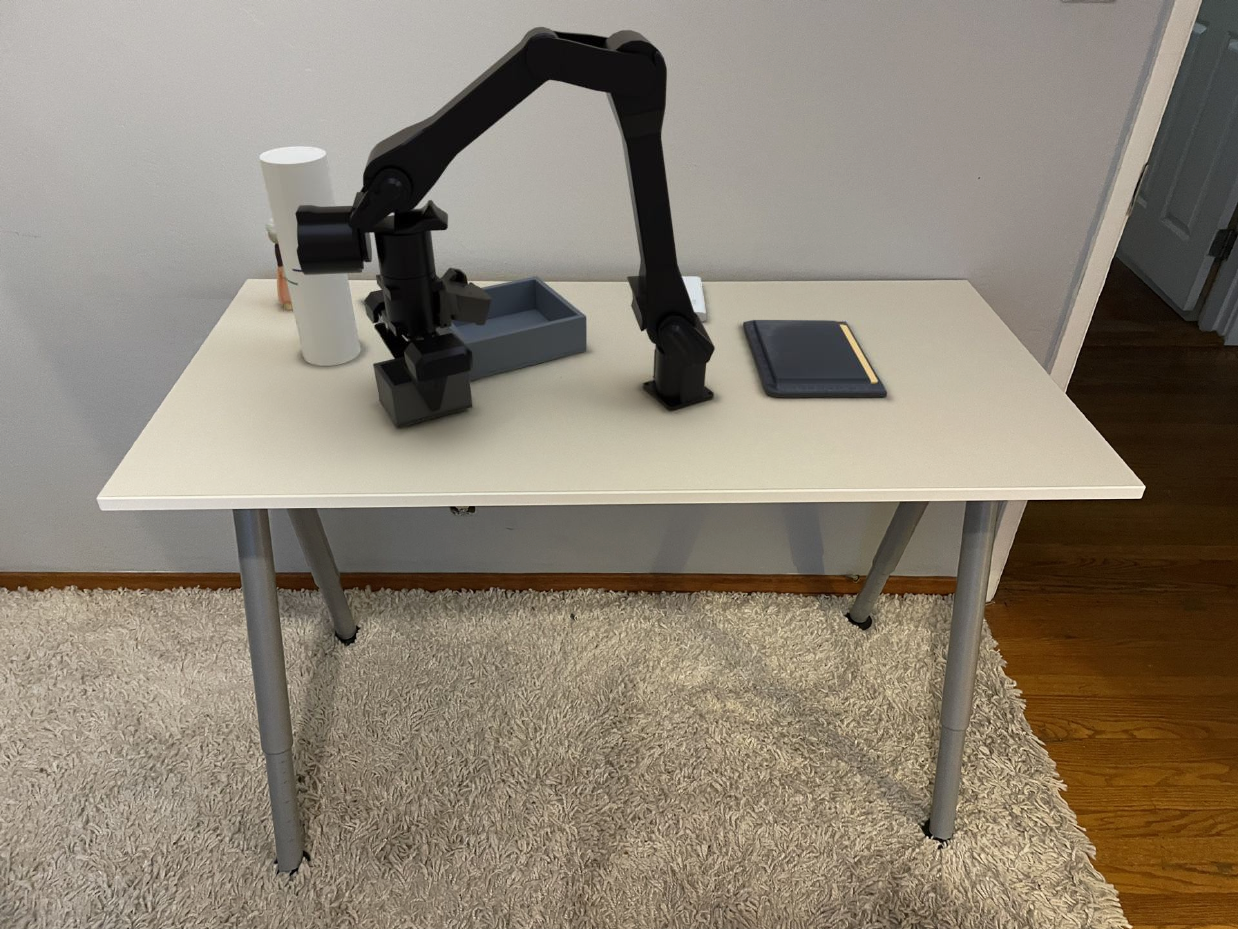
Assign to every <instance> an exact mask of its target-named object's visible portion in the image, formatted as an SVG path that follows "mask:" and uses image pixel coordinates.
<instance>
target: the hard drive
mask: <svg viewBox="0 0 1238 929" xmlns="http://www.w3.org/2000/svg"><path fill="white" fill-rule="evenodd" d="M682 278H683V281H684V284H685V286H686V289H687V292H688V294H689V297H690V300H691V303H692V306H693V310H694V312H695V313H696V314H697V315H698V316H699V318H700V320H701V322H702V323H703V322H705V321H706V319H707V311H706V310H707V309H706V304H705V298H704V290H703V283H702V278H701V277H700V276H694V275H693V276H692V275H691V276H688V275H684V276H683V275H682Z"/></svg>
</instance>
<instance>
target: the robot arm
mask: <svg viewBox="0 0 1238 929" xmlns="http://www.w3.org/2000/svg"><path fill="white" fill-rule="evenodd" d="M548 81H553V82H554V81H555V82H561V83H565V84H567V85H572V86H577V87H579V88H583V89H587V90H591V91H596V92H601V93H605V96H606V99H607V101H608V104H609V106H610V109H611V112H612V114H613V118H614V120H615V122H616V123H615V124H616V125H617V128H618V130H619V133H620V134H619V135H620V136H621V143H622V151H623V155H624V164H625V169H626V176H627V181H628V187H629V188H628V189H629V194H630V201H631V207H632V214H633V220H634V227H635V232H636V239H637V245H638V251H639V252H638V253H639V259H640V261H639V262H640V265H639V270H638V275H630V276H627V277H626V279H627V281H628V284H629V287H630V290H631V293H632V294H631V295H632V300H631V304H630V307H631V309H632V312H633V314H634V317H635V320H636V322H637V326H638V327H639V330H640V332H644V331H645V332H646V334H647V338H648V340H649V341H650V342H651V343H652V345H653V344H654V345H655V348H654V354H653V372H652V373H653V374H652V375H653V376H652V377H653V379H652V380H648V381H645V382H643V383H642V388H643V389H644V390H645V391H646V392H648V393H649V394H650V395H651V396H652V397H654V399H656V400H657V401H658V402H660V404H661V405H663V406H664V407H665V408H666V409H668V410H670V411H673V410H674V411H675V410H677V409H680V408H681V409H682V408H684V407H687V406H690V405H694V404H697V403H700V402H701V403H702V402H704V401H708V400H710V399H713V398H714V396H715V393H714V392H713V391H712V390H711V389H710V388H709V387H707V386H706V385H705V384H706V383H705V382H706V373H707V364H709V362H710V361H711V358H712V356H713V354H714V352H715V350H716V346H715V345H714V343H713V341H712V339H711V338H710V335H709V333H708V331H707V329H706V328H705V326H704V324H703V321H702V322H701V320H700V318H699V316H698V315H697V314H696V313H695V312H694V310H693V306H692V303H691V300H690V297H689V294H688V292H687V289H686V286H685V284H684V281H683V278H682V276H683V275H682V273H681V270H680V268H679V265H678V258H677V257H678V256H677V248H676V240H675V234H674V226H673V219H672V210H671V209H672V208H671V204H670V203H671V202H670V194H669V186H668V180H667V171H666V164H665V156H664V149H663V141H662V131H663V124H664V120H665V119H664V118H665V114H666V107H667V84H668V83H667V82H668V68H667V64H666V61H665V58H664V56H663V53H662V52H661V51H660V50H659V48H657V47H656V46H655V45H654V44H653V43H652V42H650V40H649V39H648V38H647V37H645V36H644V35H643V34H641V33H640V32H638V31H635V30H632V29H623V30H619V31H617V32H613V33H612V34H611V35H610V36H603V35H599V34H598V35H597V34H591V33H582V32H571V31H560V30H553V29H551V28H549V27H545V26H537V27H533V28H531V29H530V30H528V31H527V32H526V33H525V34H524V35H523V37H522V39H521V40H520V41H519V42H518V43H517V44H515V46H514V47H512V48H511V49H510V50H509V51H508V52H506V53H505V54H504V55H503V56H501V57H500V59H498V60H497V61H496V62H494V63H493V64H492V65H491V66H489V67H488V68H487V69H486V70H485V71H484V72H482V73H481V74H480V75H479V76H478V77H476V79H474V80H472V82H470V83H469V84H468V85H467V86H466V87H465V88H463V89H462V90H461V91H460V92H459V93H457V94H456V95H455V96H454V97H453V98H451V99H450V100H449V101H448V102H447V103H446V104H444V105H443V106H442V107H441V108H440V109H439V110H437V111H436V112H435V113H434V114H432V115H431V116H429V117H427V118H425V119H423V120H421V121H419V122H417V123H414V124H411V125H409V126H407V127H404V128H403V129H400V130H399V131H397V132H395V133H393V134H391V135H390V136H389V137H386V138H384V139H383V140H381V141H380V142H378V143H376V144H375V146H373V148H372V149H371V150H370V153H369V155H368V158H367V161H366V163H365V167H364V170H363V174H362V187H361V188H360V190H359V191H357V192H356V193H355V196H354V200H353V202H352V205H335V206H328V207H318V206H313V205H300V206H299V207H298V209H297V211H296V213H295V215H296V219H297V241H298V247H297V256H298V260H299V264H300V267H301V270H302V272H303V273H304V275H320V274H344V273H347V274H361V273H362V272H363V270H364V269H365V263H372V261H373V248H372V238H371V234H372V233H373V235H374V242H375V249H376V256H377V260H378V268H379V274H376V275H375V280H376V284H377V286H378V287H379V288H380V289H378V290H377V289H376V290H373V291H370V292H369V293H368V294H367V296H366V297H365V299H363V301H364V303H365V304H364V303H363V304H364V308H365V315H366V317H368V319H369V320H370V322H371V323H372V324H374V325H373V327H374V330H375V331H376V332H377V334H378V336H379V338H380V339H381V340H382V342H383V343H384V345H385V346H386V348H387V350H388V351H389V353H390V354H391V356H392V358H393V359H395V358H400V357H404V356H405V361H406V364H403V366H404V368H405V369H406V371H407V373H408V374H409V376H410V378H411V379H412V381H413V383H414V384H415V386H416V388H417V389H418V391H419V393H420V394H421V396H422V398H423V399H424V401H425V403H426V404H427V406H428V408H429V409H430V411H431V412H434V411H438V410H440V408H441V404H442V400H443V395H444V391H445V387H446V383H447V379H448V376H451V375H455V374H459V373H463V372H467V371H471V369H472V368H473V356H472V351H471V350H470V349H469V348H468V347H467V346H466V345H465V343H464V342H463V341H462V340H461V339H460V338H458V337H457V336H455V335H454V334H452V333H449V334H444V335H440V334H439V333H438V332H437V331H436V328H437V327H440V328H446V327H451V326H452V324H451V319H452V320H455V321H463V322H471V323H475V324H476V325H485V323H486V319H487V315H488V311H489V308H490V304H491V300H492V298H491V297H490V296H489V295H488V294H487V293H486V292H485V291H484V290H483V289H482V287H481V286H478V285H476V284H475V283H474V282H472V281H469V280H468V276H467V274H466V273H465V272H464V271H463V270H462V269H460V268H455V267H449V268H448V269H447V270H446V271H445V272H444V274H443V275H442V276H441V277H439V276H438V275H437V270H436V262H435V254H434V243H433V236H432V232H437V231H447V230H448V228H449V214H448V213H447V212H446V211H444V210H443V209H441V208H440V207H438V206H437V205H436V204H435V203H434V201H433V199H429V200H427V202H426V204H424V205H423V206H422V207H420V208H416V207H417V206H418V205H419V204H420V203H421V202H422V200H423V199H424V198H425V197H426V196H427V194H428V193H429V192H430V191H431V190H432V188H433V187H434V186H436V184H437V183H438V181H439V179H440V178H441V177H442V175H443V174H444V173H445V171H446V169H448V166H449V165H450V164H451V163H452V161H453V160H454V159H455V158H456V157H457V156H458V155H459V154H460V153H461V152H462V151H463V150H464V149H466V148H467V147H468V146H470V145H471V144H472V143H473V142H474V141H476V140H477V139H478V138H479V137H480V136H482V135H483V134H484V133H485V132H487V131H488V130H489V129H491V128H492V127H493V126H494V125H495V124H496V123H497V122H499V121H500V120H501V119H502V118H504V117H505V116H506V115H508V114H509V113H510V112H511V111H512V110H514V109H515V108H516V107H517V106H518V105H519V104H521V103H522V102H524V101H525V100H526V99H527V98H528V97H529V96H531V95H532V94H533V93H534V92H536V91H537V90H538V89H539V88H540V87H542V86H543V85H544V84H545V83H547V82H548ZM391 214H393V215H391ZM379 316H380V320H381V322H380V321H379Z"/></svg>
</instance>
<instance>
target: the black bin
mask: <svg viewBox="0 0 1238 929" xmlns="http://www.w3.org/2000/svg"><path fill="white" fill-rule="evenodd" d="M403 364H406V361H405V356H404V357H400V358H395V359H394V358H392V359H387V360H382V361H378V362H374V363H373V364H372V365H373V372H374V377H375V378H374V379H375V383H376V390H377V395H378V401H379V403H380V404H381V406H382V407H383V408H384V410H385V412H386V413H387V415H388V417H389V418H390V419H391V420H392V422H393V424H394V425H395V427H396V428H402V427H406V426H409V425H412V424H416V423H421V422H425V421H428V420H432V419H435V418H439V417H442V416H446V415H450V414H455V413H457V412H461V411H465V410H468V409H469V410H470V409H473V399H472V388H471V381H470V377H469V371H467V372H463V373H459V374H455V375H451V376H448V379H447V383H446V387H445V391H444V395H443V400H442V404H441V408H440V410H438V411H434V412H431V411H430V409H429V408H428V406H427V404H426V403H425V401H424V399H423V398H422V396H421V394H420V393H419V391H418V389H417V388H416V386H415V384H414V383H413V381H412V379H411V378H410V376H409V374H408V373H407V371H406V369H405V368H404V366H403Z"/></svg>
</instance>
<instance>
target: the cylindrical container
mask: <svg viewBox="0 0 1238 929" xmlns="http://www.w3.org/2000/svg"><path fill="white" fill-rule="evenodd" d="M258 157H259V162H260V167H261V172H262V176H263V181H264V185H265V189H266V193H267V198H268V203H269V208H270V212H271V218H272V217H273V221H274V226H275V230H276V235H277V239H278V244H279V248H280V253H281V257H282V262H283V266H284V271H285V275H286V280H287V284H288V289H289V293H290V298H291V302H292V307H293V310H292V311H293V315H294V320H295V325H296V329H297V334H298V338H299V343H300V347H301V352H302V356H303V359H304V361H305V362H307V363H309V364H310V365H314V366H318V367H319V366H320V367H330V366H331V367H332V366H338V365H343V364H345V363H349V362H351V361H353V360H355V359H356V358H357V357H358V356H360V354H361V351H362V350H361V344H360V343H361V342H360V339H359V338H360V337H359V332H358V327H357V321H356V315H355V310H354V303H353V299H352V292H351V286H350V281H349V276H348V273H344V274H320V275H304V273H303V272H302V270H301V267H300V264H299V260H298V256H297V247H298V241H297V219H296V215H295V213H296V211H297V209H298V207H299V206H300V205H313V206H318V207H328V206H336V203H335V196H334V191H333V185H332V178H331V174H330V168H329V162H328V157H327V152H326V150H324V149H322V148H320V147H315V146H306V145H295V146H294V145H293V146H284V147H283V146H282V147H277V148H272V149H269V150H265V151H264V152H262V153H261V154H259V156H258Z"/></svg>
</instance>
